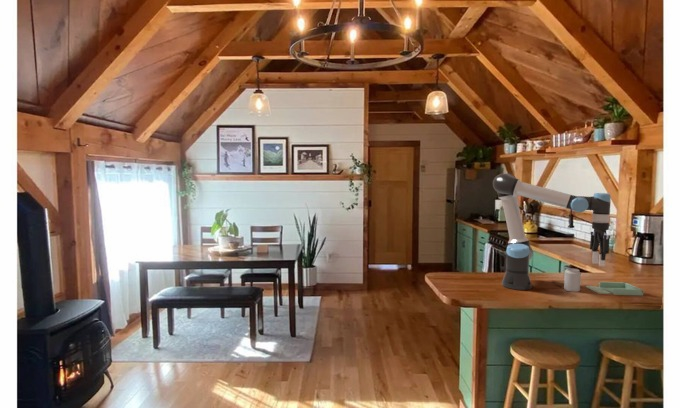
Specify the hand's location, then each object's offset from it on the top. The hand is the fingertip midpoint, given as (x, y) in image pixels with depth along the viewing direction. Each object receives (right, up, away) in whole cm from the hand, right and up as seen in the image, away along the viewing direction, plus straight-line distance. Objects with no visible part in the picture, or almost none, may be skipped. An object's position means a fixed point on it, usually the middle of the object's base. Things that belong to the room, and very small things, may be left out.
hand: (598, 264), depth 206 cm
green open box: (+11, -15, 0) cm, 19 cm away
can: (-13, -15, +2) cm, 20 cm away
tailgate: (+4, -14, +1) cm, 15 cm away
